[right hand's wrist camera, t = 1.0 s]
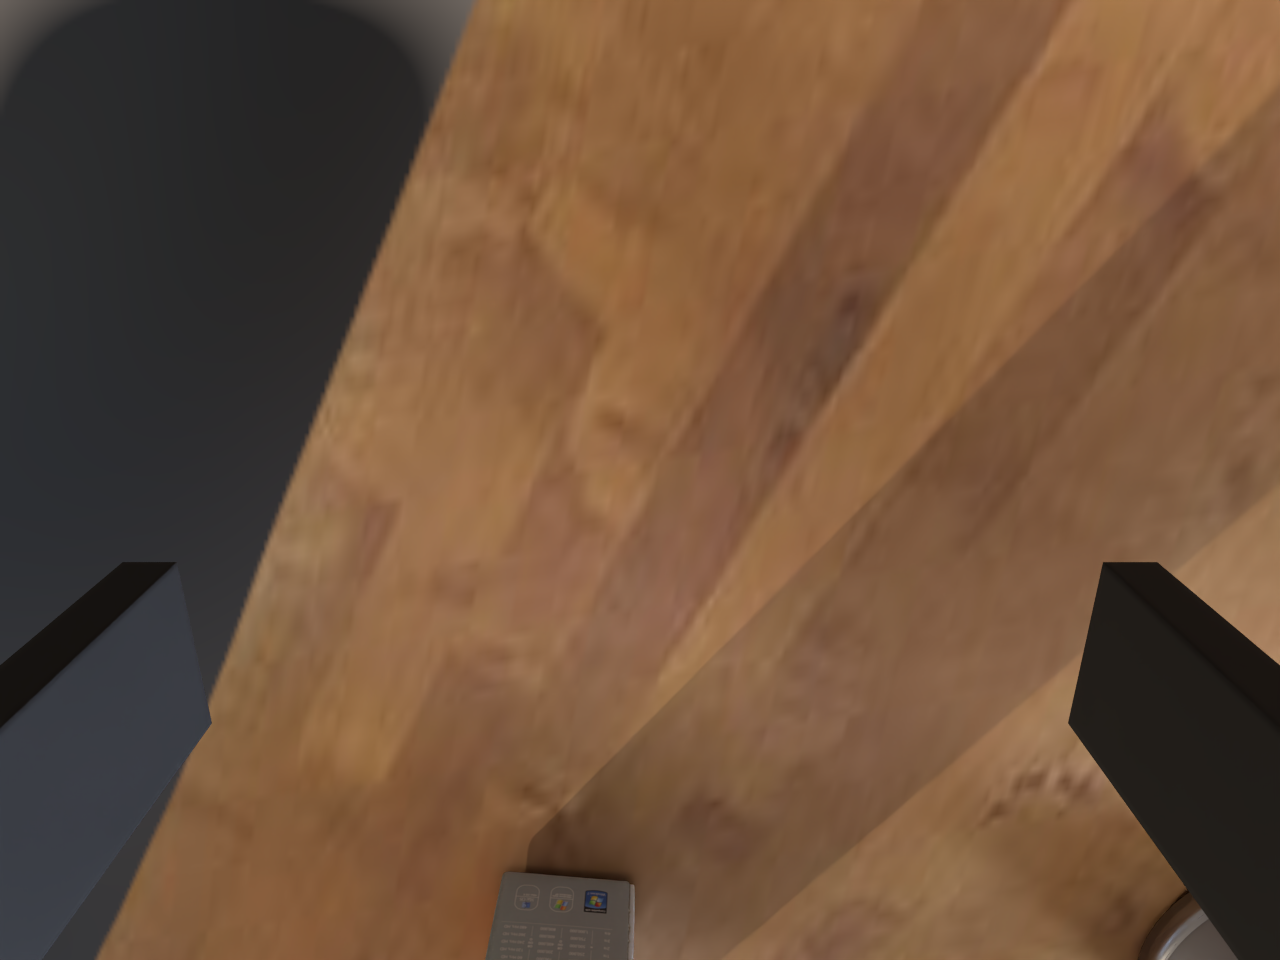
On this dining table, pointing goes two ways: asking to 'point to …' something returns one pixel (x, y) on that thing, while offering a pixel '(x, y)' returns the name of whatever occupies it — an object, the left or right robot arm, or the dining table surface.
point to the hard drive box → (562, 919)
